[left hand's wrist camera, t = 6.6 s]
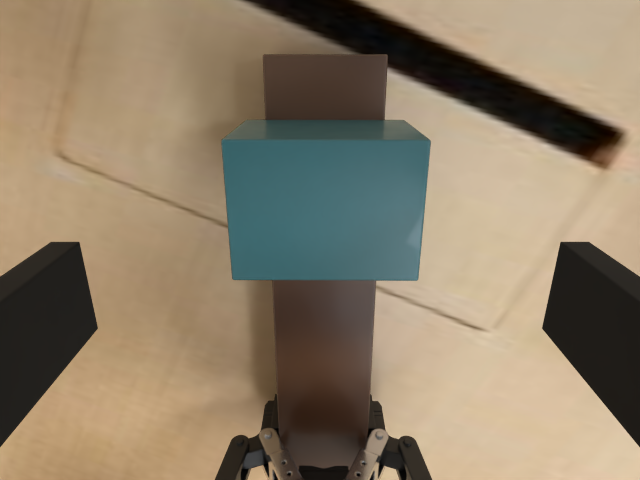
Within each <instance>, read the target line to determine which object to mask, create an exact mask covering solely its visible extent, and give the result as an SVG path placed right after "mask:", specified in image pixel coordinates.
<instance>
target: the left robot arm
mask: <svg viewBox="0 0 640 480" xmlns="http://www.w3.org/2000/svg"><path fill="white" fill-rule="evenodd" d="M97 329H98V327H97V322H96V318H95V313H94V308H93V304H92V299H91V294H90V290H89V285H88V280H87V276H86V271H85V266H84V262H83V257H82V252H81V248H80V243H79V242H50V243H49V244H48V245H46V246H45V247H43V248H42V249H40V250H39V251H37V252H36V253H34V254H33V255H31V256H30V257H29V258H27V259H26V260H24V261H23V262H21V263H20V264H18V265H17V266H15V267H14V268H12V269H11V270H9V271H8V272H7V273H5V274H4V275H2V276H1V277H0V447H1V446H2V444H3V443H4V442H5V441H6V439H7V438H8V437H9V436H10V435H11V433H12V432H13V431H14V430H15V429H16V427H17V426H18V425H19V424H20V422H21V421H22V420H23V419H24V418H25V416H26V415H27V414H28V413H29V411H30V410H31V409H32V408H33V407H34V405H35V404H36V403H37V402H38V401H39V399H40V398H41V397H42V396H43V394H44V393H45V392H46V391H47V390H48V388H49V387H50V386H51V385H52V384H53V382H54V381H55V380H56V379H57V377H58V376H59V375H60V374H61V373H62V371H63V370H64V369H65V368H66V367H67V365H68V364H69V363H70V362H71V360H72V359H73V358H74V357H75V356H76V354H77V353H78V352H79V351H80V349H81V348H82V347H83V346H84V345H85V343H86V342H87V341H88V340H89V339H90V337H91V336H92V335H93V334H94V332H95V331H96V330H97ZM542 329H543V330H544V331H545V332H546V334H547V335H548V336H549V337H550V339H551V340H552V341H553V342H554V343H555V345H556V346H557V347H558V348H559V350H560V351H561V352H562V353H563V354H564V356H565V357H566V358H567V359H568V360H569V362H570V363H571V364H572V365H573V367H574V368H575V369H576V370H577V371H578V373H579V374H580V375H581V376H582V377H583V379H584V380H585V381H586V382H587V384H588V385H589V386H590V387H591V388H592V390H593V391H594V392H595V393H596V394H597V396H598V397H599V398H600V399H601V401H602V402H603V403H604V404H605V405H606V407H607V408H608V409H609V410H610V412H611V413H612V414H613V415H614V416H615V418H616V419H617V420H618V421H619V422H620V424H621V425H622V426H623V427H624V429H625V430H626V431H627V432H628V433H629V435H630V436H631V437H632V438H633V439H634V441H635V442H636V443H637V444H638V446H639V447H640V277H639V276H638V275H636V274H635V273H633V272H632V271H631V270H629V269H628V268H626V267H625V266H623V265H622V264H620V263H619V262H617V261H616V260H614V259H613V258H611V257H610V256H609V255H607V254H606V253H604V252H603V251H601V250H600V249H598V248H597V247H595V246H594V245H592V244H591V243H590V242H561V243H560V248H559V252H558V257H557V262H556V266H555V271H554V276H553V280H552V285H551V290H550V294H549V299H548V304H547V308H546V313H545V318H544V322H543V327H542Z"/></svg>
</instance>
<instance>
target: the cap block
mask: <svg viewBox="0 0 640 480" xmlns="http://www.w3.org/2000/svg"><path fill="white" fill-rule="evenodd" d="M221 145H222V157H223V170H224V182H225V195H226V207H227V220H228V232H229V245H230V257H231V270H232V279H233V280H397V281H417V280H418V276H419V265H420V254H421V243H422V232H423V221H424V210H425V199H426V188H427V177H428V166H429V155H430V145H431V141H430V140H429V139H428V138H427V137H425V136H424V135H423V134H422V133H420V132H419V131H418V130H416V129H415V128H414V127H412V126H411V125H410V124H408V123H407V122H406V121H404V120H246V121H245V122H243V123H242V124H241V125H240V126H238V127H237V128H236V129H235V130H233V131H232V132H231V133H230V134H228V135H227V136H226V137H225V138H223V139H222V141H221Z"/></svg>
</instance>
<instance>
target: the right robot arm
mask: <svg viewBox="0 0 640 480" xmlns="http://www.w3.org/2000/svg"><path fill="white" fill-rule="evenodd" d="M261 465H262V468H263V470H264V472H265V475H266V477H267V479H268V480H380V478H381V476H382V473H383V471H384V469H385V466H387V467H390V468H393V469H396V471H397V474H398V477H399V480H432V478H431V476H430V473H429V471H428V469H427V466H426V464H425V461H424V459H423V457H422V454H421V452H420V450H419V447H418V445H417V442H416V440H415V439H414V438H412V437H410V436H402V437H401V438H400V439H395V438H392V437H390V436H389V435H388V433H387V432H386V430H385V425H384V419H383V413H382V407H381V405H380V403H379V402H378V401H372V396H371V394H370V404H369V423H368V440H367V442H366V444H365V446H364V448H363V449H360V450H359V452H358V454H357V456H356V458H355V460H354V462H353V464H352V466H351V468H350V470H349V469H348V466H333V467H328V468H319V467H315V466H299V470H298V468H297V466H296V464H295V462H294V460H293V458H292V456H291V455H290V453H289V451H288V449H287V448H284V446H283V444H282V442H281V440H280V438H279V424H278V400H277V394H275V400H274V401H268V402H267V404H266V405H265V409H264V416H263V421H262V427H261V431H260V433H259V434H258V435H257V436H255V437H252V438H249V439H248V437H246V436H244V435H238V436H236V437H234V438H233V439H232V440H231V442H230V445H229V447H228V450H227V452H226V454H225V457H224V459H223V461H222V464H221V466H220V469H219V471H218V473H217V476H216V478H215V480H247V479H248V476H249V473H250V470H251V468H254V467H257V466H261Z"/></svg>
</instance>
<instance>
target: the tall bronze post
mask: <svg viewBox="0 0 640 480" xmlns="http://www.w3.org/2000/svg"><path fill="white" fill-rule="evenodd" d="M387 63H388V56H387V55H263V74H264V97H265V120H385V101H386V82H387ZM272 284H273V307H274V330H275V354H276V377H277V400H278V424H279V438H280V440H281V442H282V444H283V446H284V448H287V449H288V451H289V453H290V455H291V456H292V458H293V460H294V462H295V464H296V466H297V468H298V470H299V466H315V467H319V468H328V467H333V466H348V469H349V470H350V468H351V466H352V464H353V462H354V460H355V458H356V456H357V454H358V452H359V450H360V449H363V448H364V446H365V444H366V442H367V440H368V423H369V404H370V385H371V366H372V347H373V328H374V309H375V290H376V280H272Z"/></svg>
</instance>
